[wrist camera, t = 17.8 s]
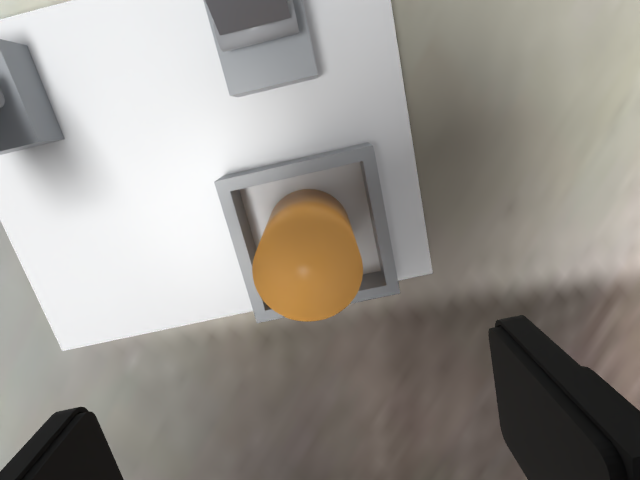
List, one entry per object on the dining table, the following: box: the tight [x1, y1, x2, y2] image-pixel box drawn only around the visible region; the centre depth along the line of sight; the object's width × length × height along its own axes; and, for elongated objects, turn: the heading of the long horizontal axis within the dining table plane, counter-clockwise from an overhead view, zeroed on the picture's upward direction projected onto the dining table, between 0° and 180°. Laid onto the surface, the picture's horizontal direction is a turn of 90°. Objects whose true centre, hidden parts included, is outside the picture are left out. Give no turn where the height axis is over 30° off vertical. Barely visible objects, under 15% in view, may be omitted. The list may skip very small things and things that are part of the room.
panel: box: [0, 0, 433, 351], centre depth 21 cm, size 17×22×4 cm
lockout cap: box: [252, 189, 363, 321], centre depth 19 cm, size 4×4×6 cm
